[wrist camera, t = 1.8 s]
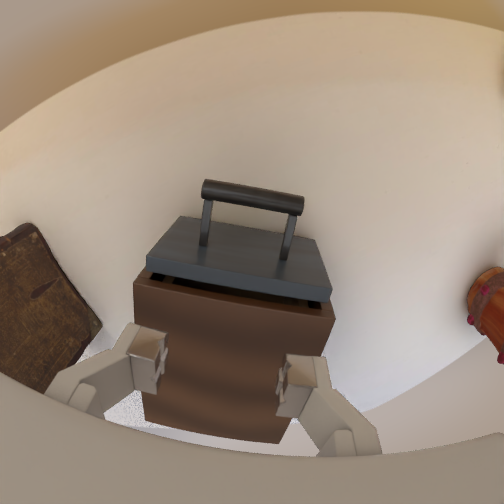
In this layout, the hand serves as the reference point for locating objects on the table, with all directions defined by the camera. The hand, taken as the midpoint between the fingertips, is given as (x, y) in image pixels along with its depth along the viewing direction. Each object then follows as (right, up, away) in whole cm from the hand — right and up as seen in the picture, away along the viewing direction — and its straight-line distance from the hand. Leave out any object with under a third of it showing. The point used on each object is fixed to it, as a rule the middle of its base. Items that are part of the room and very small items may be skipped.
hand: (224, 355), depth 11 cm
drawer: (0, +1, +19) cm, 19 cm away
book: (-24, +1, +22) cm, 32 cm away
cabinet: (-1, -3, +22) cm, 22 cm away
